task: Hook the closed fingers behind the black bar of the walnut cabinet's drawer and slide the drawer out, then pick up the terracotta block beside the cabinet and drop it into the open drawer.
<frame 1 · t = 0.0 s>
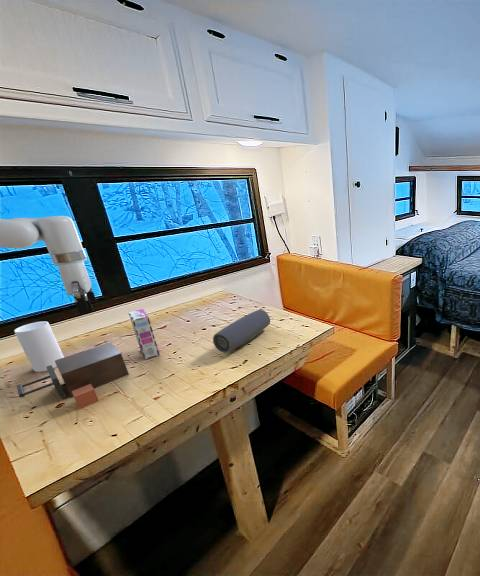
hand: (88, 307, 100), 24 cm above the table, tool pointing down, fingers open, 9 cm apart
drawer: (67, 377, 98), point 4 cm above the table, slide at 1.0 cm
candy bar box: (150, 352, 119), on the table
cup: (50, 365, 112), on the table
bluetooth speaker: (245, 341, 126), on the table
cabinet: (97, 378, 104), on the table
block: (87, 401, 93), on the table
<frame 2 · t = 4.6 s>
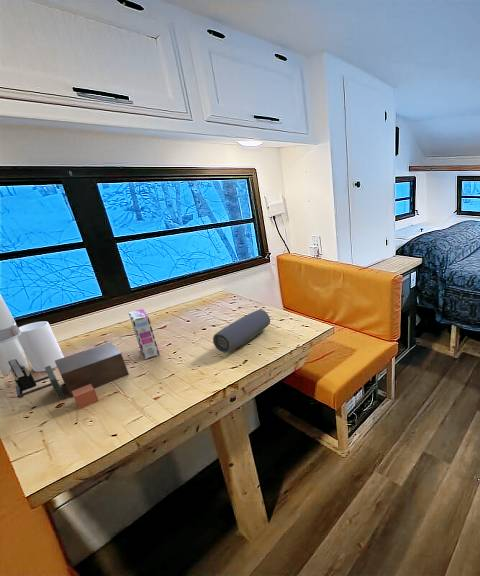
hand: (29, 387, 92), 5 cm above the table, tool pointing down, fingers closed
drawer: (65, 377, 98), point 4 cm above the table, slide at 1.3 cm
everything else where it was.
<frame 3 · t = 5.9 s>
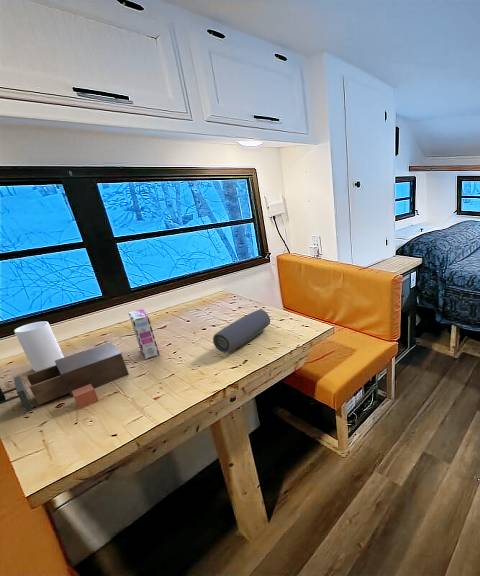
drawer: (35, 388, 93), point 4 cm above the table, slide at 8.0 cm
everything else where it was.
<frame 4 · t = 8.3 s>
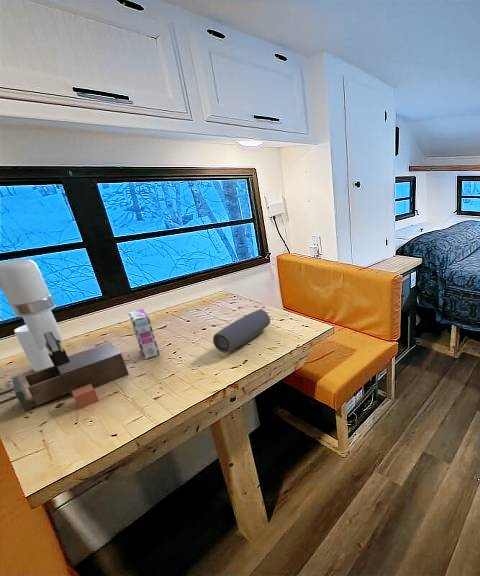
hand: (62, 363, 88), 14 cm above the table, tool pointing down, fingers closed
drawer: (34, 389, 93), point 4 cm above the table, slide at 8.3 cm
everything else where it was.
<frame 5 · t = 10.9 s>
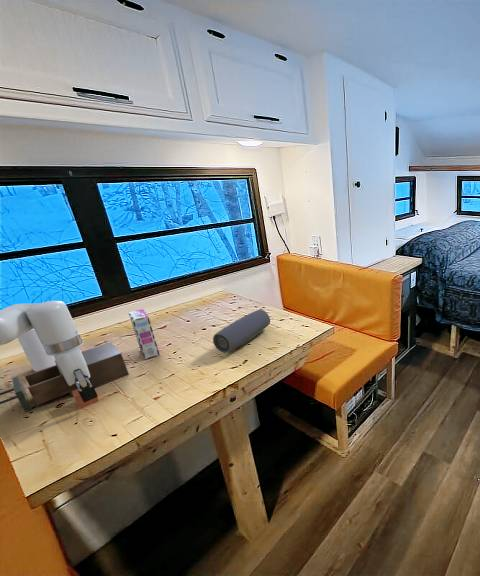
hand: (87, 392, 92), 3 cm above the table, tool pointing down, fingers open, 9 cm apart
nothing on the table moved.
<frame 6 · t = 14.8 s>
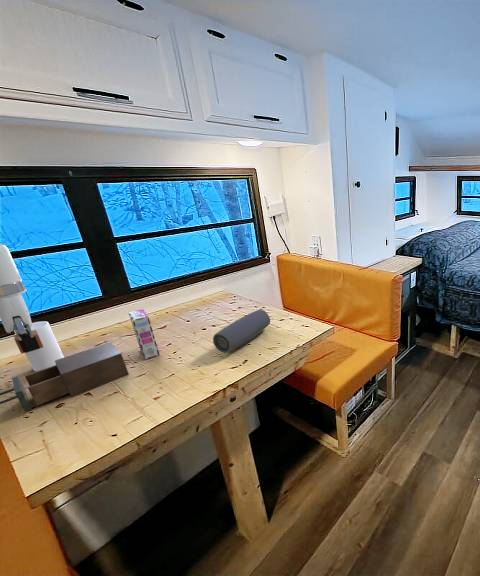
hand: (31, 347, 89), 18 cm above the table, tool pointing down, fingers closed on block, 4 cm apart
block: (31, 348, 89), point 18 cm above the table, touching gripper
everything else where it was.
when the fingers open (9 cm above the table, at t = 17.7 s): block drops 7 cm, resting on drawer.
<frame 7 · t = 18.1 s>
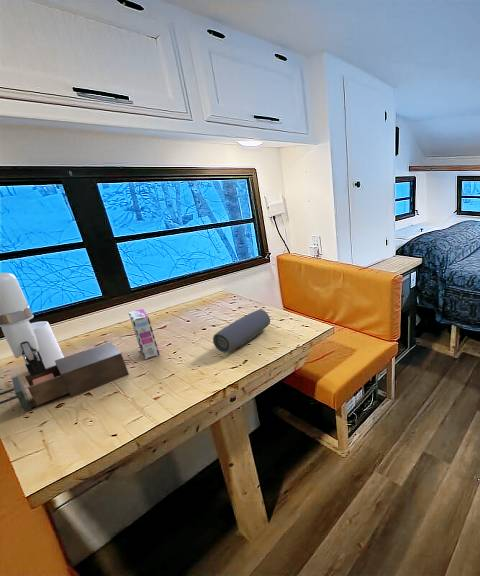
hand: (36, 367, 92), 11 cm above the table, tool pointing down, fingers open, 9 cm apart
drawer: (34, 389, 93), point 4 cm above the table, slide at 8.3 cm, touching block
block: (49, 390, 95), point 2 cm above the table, touching drawer
everything else where it was.
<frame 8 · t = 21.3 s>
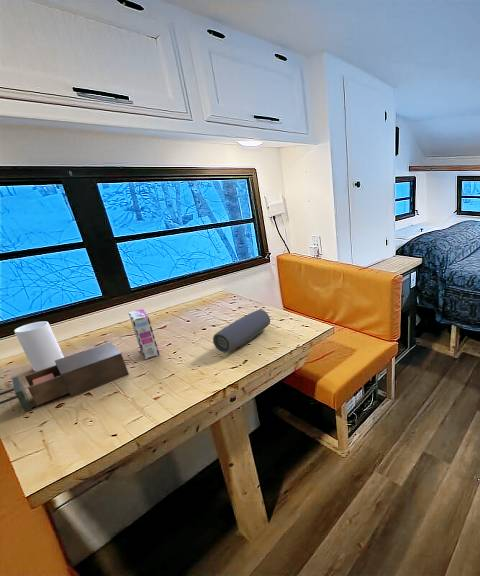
nothing on the table moved.
at the end: drawer slide at 8.3 cm; block inside the target area in the drawer (0.9 cm from its centre), point 2.0 cm above the cabinet's base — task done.
